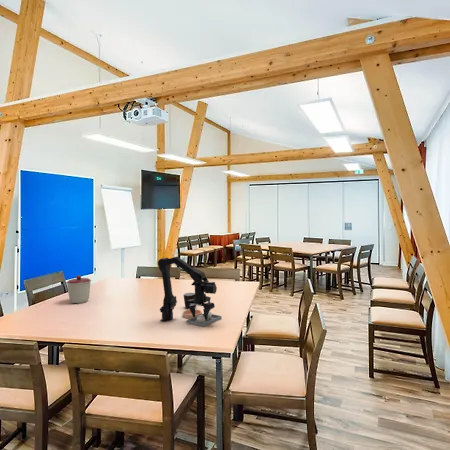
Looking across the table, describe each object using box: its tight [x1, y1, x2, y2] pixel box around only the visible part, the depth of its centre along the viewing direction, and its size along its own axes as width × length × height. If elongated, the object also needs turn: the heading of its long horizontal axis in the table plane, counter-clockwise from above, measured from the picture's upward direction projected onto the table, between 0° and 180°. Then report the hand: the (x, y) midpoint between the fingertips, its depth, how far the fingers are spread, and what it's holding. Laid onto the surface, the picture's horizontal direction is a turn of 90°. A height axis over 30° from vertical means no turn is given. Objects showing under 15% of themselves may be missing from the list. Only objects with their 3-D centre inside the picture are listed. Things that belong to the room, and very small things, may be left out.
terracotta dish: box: [181, 308, 203, 320], centre depth 210 cm, size 12×12×3 cm
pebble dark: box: [206, 311, 213, 320], centre depth 202 cm, size 4×4×4 cm
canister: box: [65, 274, 92, 304], centre depth 254 cm, size 18×18×21 cm
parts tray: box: [186, 313, 222, 328], centre depth 199 cm, size 18×13×3 cm
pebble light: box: [197, 315, 204, 324], centre depth 196 cm, size 4×4×4 cm
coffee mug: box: [182, 292, 195, 310], centre depth 232 cm, size 12×9×10 cm
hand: (200, 318), depth 196 cm, fingers open, 9 cm apart
